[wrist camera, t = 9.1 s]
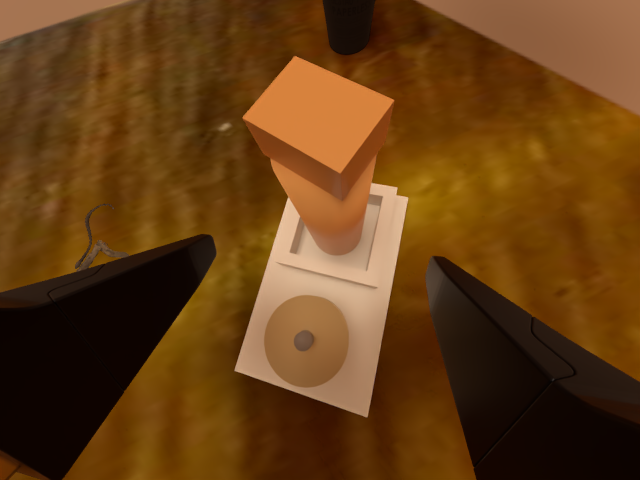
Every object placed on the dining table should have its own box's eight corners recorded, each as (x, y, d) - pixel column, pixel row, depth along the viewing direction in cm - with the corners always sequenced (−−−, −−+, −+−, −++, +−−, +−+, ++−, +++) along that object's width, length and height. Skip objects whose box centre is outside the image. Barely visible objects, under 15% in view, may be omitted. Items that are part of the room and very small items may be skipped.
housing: (366, 410, 18) (372, 451, 13) (240, 366, 20) (205, 387, 15) (405, 202, 22) (421, 174, 17) (297, 183, 24) (283, 152, 19)
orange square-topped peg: (343, 265, 20) (332, 195, 7) (303, 238, 21) (225, 130, 8) (371, 225, 21) (411, 86, 7) (331, 200, 22) (302, 40, 8)
